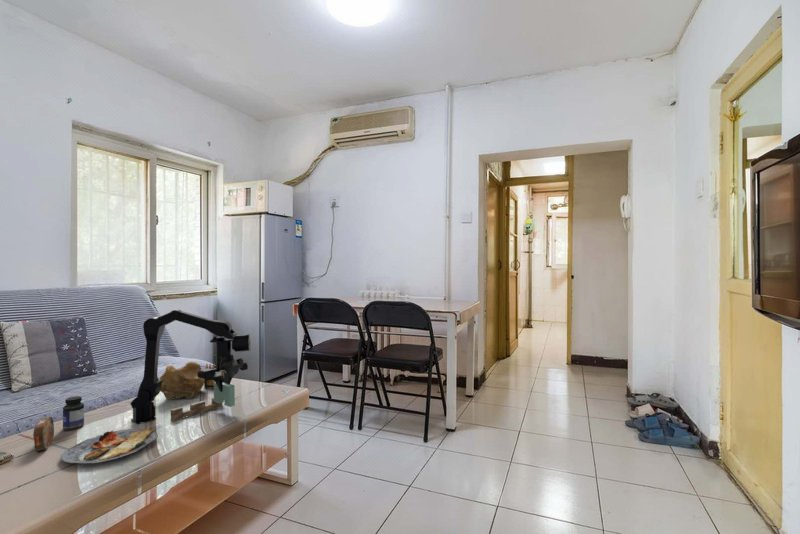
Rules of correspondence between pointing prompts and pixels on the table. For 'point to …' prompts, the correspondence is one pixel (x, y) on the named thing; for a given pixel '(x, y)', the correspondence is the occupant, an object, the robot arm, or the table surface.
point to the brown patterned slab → (43, 434)
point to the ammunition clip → (210, 381)
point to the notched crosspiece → (225, 394)
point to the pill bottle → (73, 413)
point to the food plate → (110, 445)
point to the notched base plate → (193, 409)
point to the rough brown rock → (181, 381)
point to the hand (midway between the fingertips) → (223, 391)
